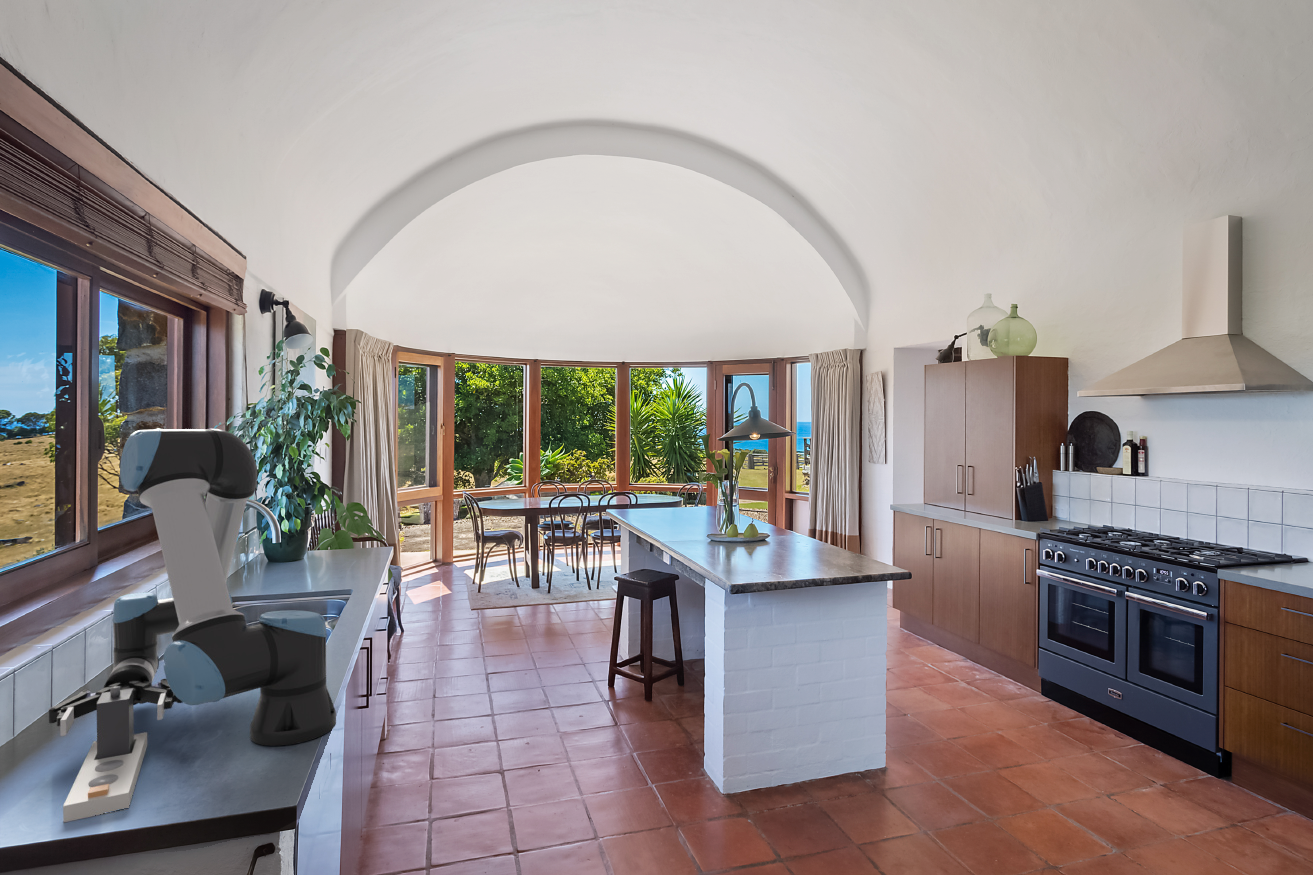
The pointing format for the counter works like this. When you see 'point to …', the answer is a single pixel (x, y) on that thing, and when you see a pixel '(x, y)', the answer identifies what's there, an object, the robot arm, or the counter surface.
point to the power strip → (105, 782)
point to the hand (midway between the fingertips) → (112, 719)
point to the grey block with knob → (115, 723)
